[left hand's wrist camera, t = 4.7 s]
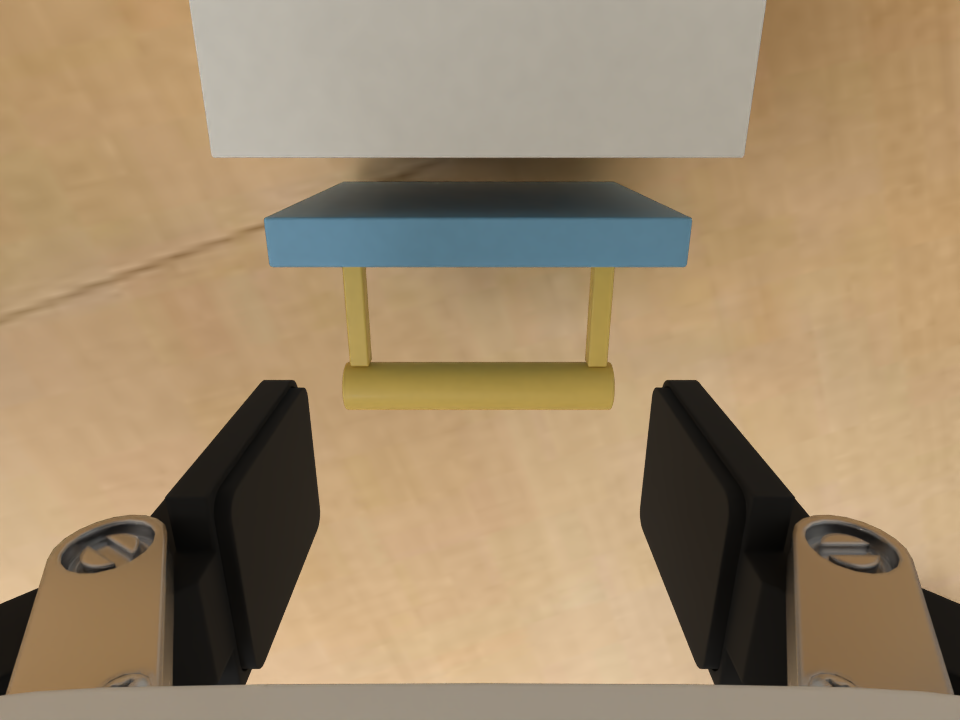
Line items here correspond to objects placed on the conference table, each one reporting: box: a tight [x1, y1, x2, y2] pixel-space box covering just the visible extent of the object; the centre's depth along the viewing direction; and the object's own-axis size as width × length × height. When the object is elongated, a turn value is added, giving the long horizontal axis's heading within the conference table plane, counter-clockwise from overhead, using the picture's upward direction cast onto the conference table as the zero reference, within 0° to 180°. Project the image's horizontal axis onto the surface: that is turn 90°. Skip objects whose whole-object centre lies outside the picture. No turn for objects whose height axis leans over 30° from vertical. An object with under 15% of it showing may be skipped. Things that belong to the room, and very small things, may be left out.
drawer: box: [264, 182, 692, 410], centre depth 17 cm, size 22×10×9 cm, turn 0°
